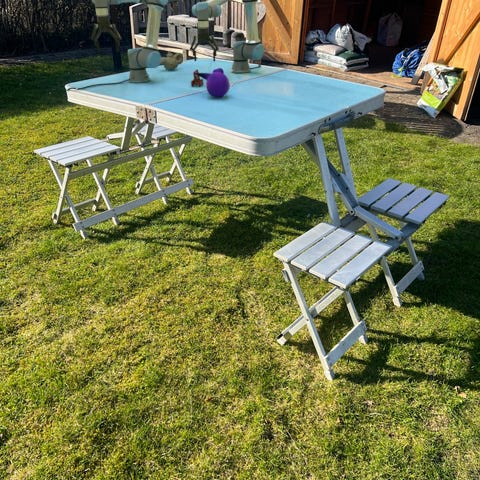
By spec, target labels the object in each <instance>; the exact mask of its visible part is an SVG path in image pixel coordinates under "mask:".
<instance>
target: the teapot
mask: <svg viewBox="0 0 480 480" xmlns="http://www.w3.org/2000/svg"><path fill="white" fill-rule="evenodd" d="M178 58H179V59H178ZM183 62H184V57H183V54H182V53H181V52H177V53H175V54H174V53H172V52H171V50H168V51H167V54H166V57H165V56H161V63H160V66H163V67H164V69H165V70H166V71H174V70H176V69H177V68H178V67H179V65H182V64H183Z"/></svg>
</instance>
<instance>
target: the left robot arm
mask: <svg viewBox="0 0 480 480" xmlns="http://www.w3.org/2000/svg"><path fill="white" fill-rule="evenodd" d="M91 2H92V4H94V8H95V13H96V14H95V16H96V20H97V23H94V24H93V25H92V26H93V29H92V32H91V37H90V40H91V41H93V42H94V47H96V52H97V53H99V52H101V49H100V43H99V38H100V36H101V35H102V33H108V34H110V35H111V36H112V38H113V39H114V40H115V42H114V43H115V50H116V53H119V52H120V46H121V45H120V44H121V43H120V41H121V40H123V38H122V36H121V34H120V33H119V30H118V29H117V27H116V24H115V23H112V24H111V21H110V16H109V7H108V6H109V5H120V4H123V3H126V4H127V3H134V4H142V5H147V7H148V17H147V24H146V25H147V26H146V34H145V44H144V45H142V47H135V48H130V49H127V58H128V66H129V76H128V79H125V80H122V81H118V82H108V83H107V82H105V83H96V84H91V85H87V86H86V85H85V86H82V87H69V88H67V90H66V92H69V91H70V90H83V89H87V88H91V87H98V86H109V85H120V84H123V83H125V82H129V83H133V84H141V83H148V82H150V73H149V74H148V71H147V69H157V68H158V67H160V66H161V64H160V63H161V58H162V55H161V53H160V49H159V48H158V44H159V35H160V26H161V19H162V18H161V17H162V11H164V10H165V6H166V5H167V4H168V3H169V0H91ZM76 88H78V89H76ZM71 133H72V135H74V134H75V131H74V130H73V129H72V130H71Z"/></svg>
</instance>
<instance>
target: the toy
mask: <svg viewBox="0 0 480 480" xmlns="http://www.w3.org/2000/svg"><path fill="white" fill-rule="evenodd" d="M195 74H196V75H198V76H200V78H201V79H203V80H206V83H205V84H206V86H205V87H206V90H207V93H208V95H210V96H211V97H213V98H216V99H217V98H221V99H222V98H223V97H225V96H226V95H227V93H228V92H229V90H230V80H229V78H228V76H227V75H226V74H225V72H224V69H223V68H222V67H218V68H216V69H215V68H214V69H213V70H212V73H208V72H199V73H195Z"/></svg>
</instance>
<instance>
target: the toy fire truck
mask: <svg viewBox="0 0 480 480" xmlns="http://www.w3.org/2000/svg"><path fill="white" fill-rule="evenodd" d="M192 73H193V74H192V75H193V79H192V80H191V81H190V86H191V87H195V86H198V87H202V86H204V78H201V77H200V76H198V75H196V74H195V73H200V72H199V70H198V69H196V70H194V71H193V72H192Z"/></svg>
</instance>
